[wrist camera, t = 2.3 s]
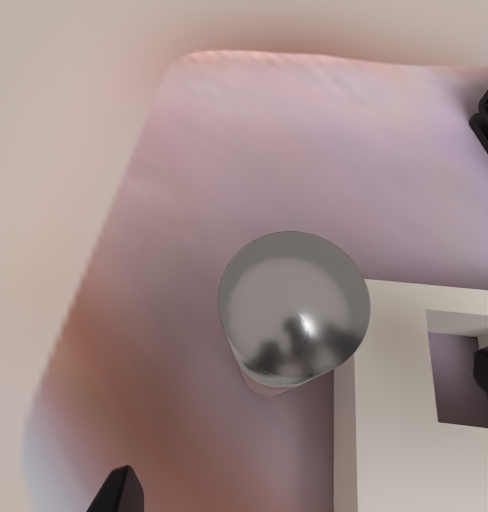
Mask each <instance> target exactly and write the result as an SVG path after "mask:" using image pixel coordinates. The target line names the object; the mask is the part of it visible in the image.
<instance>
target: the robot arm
mask: <svg viewBox="0 0 488 512" xmlns="http://www.w3.org/2000/svg"><path fill="white" fill-rule="evenodd" d="M473 377H474V379H475V381H476V383H477V384H478V385H479V387H480V388H481V389H482V390H483V391H484V392H485V394H486V395H487V396H488V346H486V347H483V348H480V349H477V350H475V352H474V357H473ZM86 512H144V494H143V489H142V486H141V484H140V482H139V480H138V478H137V476H136V474H135V472H134V470H133V468H132V467H131V466H130V465H126V466H123V467H120V468H116V469H114V470H112V471H111V472H110V474H109V475H108V477H107V479H106V480H105V482H104V483H103V485H102V487H101V488H100V490H99V492H98V493H97V495H96V497H95V498H94V500H93V502H92V503H91V505H90V506H89V508H88V510H87V511H86Z"/></svg>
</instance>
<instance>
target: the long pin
mask: <svg viewBox="0 0 488 512" xmlns="http://www.w3.org/2000/svg"><path fill="white" fill-rule="evenodd" d="M218 307H219V314H220V319H221V322H222V325H223V328H224V331H225V333H226V336H227V338H228V341H229V343H230V346H231V348H232V351H233V353H234V356H235V359H236V361H237V364H238V366H239V369H240V371H241V374H242V376H243V379H244V381H245V383H246V384H247V386H248V387H249V388H250V389H251V390H252V391H254V392H255V393H257V394H259V395H262V396H276V395H279V394H282V393H284V392H286V391H288V390H290V389H293V388H295V387H297V386H299V385H301V384H303V383H305V382H308V381H310V380H312V379H314V378H316V377H318V376H321V375H323V374H325V373H327V372H329V371H331V370H333V369H335V368H337V367H338V366H340V365H341V364H343V363H344V362H345V361H347V360H348V359H349V358H350V357H351V356H352V355H353V354H354V353H355V352H356V350H357V349H358V347H359V346H360V344H361V343H362V341H363V339H364V337H365V335H366V332H367V329H368V325H369V320H370V308H371V305H370V296H369V292H368V288H367V285H366V282H365V280H364V277H363V275H362V274H361V272H360V270H359V268H358V267H357V266H356V264H355V263H354V261H353V260H352V259H351V258H350V257H349V256H348V255H347V254H346V253H345V252H344V251H343V250H341V249H340V248H339V247H337V246H336V245H334V244H333V243H331V242H329V241H328V240H326V239H324V238H321V237H319V236H316V235H313V234H309V233H304V232H296V231H285V232H277V233H272V234H268V235H265V236H262V237H260V238H258V239H256V240H254V241H252V242H251V243H249V244H247V245H246V246H245V247H244V248H242V249H241V250H240V251H239V252H238V253H237V254H236V255H235V256H234V257H233V259H232V260H231V261H230V263H229V264H228V266H227V268H226V270H225V272H224V274H223V277H222V279H221V283H220V287H219V295H218Z"/></svg>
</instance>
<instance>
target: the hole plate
mask: <svg viewBox="0 0 488 512" xmlns="http://www.w3.org/2000/svg"><path fill="white" fill-rule="evenodd" d="M364 280H365V282H366V285H367V288H368V292H369V296H370V305H371V308H370V320H369V325H368V329H367V332H366V335H365V337H364V339H363V341H362V343H361V344H360V346H359V347H358V349H357V350H356V352H355V353H354V354H353V355H352V356H351V357H350V358H349V359H348V360H347V361H345V362H344V363H343V364H341V365H340V366H338V367H337V368H335V369H334V512H488V428H481V427H473V426H465V425H456V424H448V423H440V422H438V417H437V408H436V400H435V391H434V382H433V373H432V365H431V356H430V347H429V338H428V332H432V333H442V334H452V335H461V336H471V337H477V339H478V344H479V349H480V348H483V347H486V346H488V290H478V289H468V288H457V287H447V286H436V285H425V284H415V283H404V282H394V281H383V280H372V279H364Z"/></svg>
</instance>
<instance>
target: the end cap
mask: <svg viewBox="0 0 488 512" xmlns="http://www.w3.org/2000/svg"><path fill="white" fill-rule="evenodd" d="M478 109H479V112H480V113H476V114H474V116H473V117H472V118H471V120H470V121H469V125H470V127H471V128H472V130H473V131H474V133H475V135H476V136H477V138H478V139H479V141H480V142H481V144H482V145H483V147H484V149H485V150H486V152H487V153H488V90H487V92H486V93H485V95H484V96H483V97H482V99H481V100H480V102H479V107H478Z"/></svg>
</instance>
